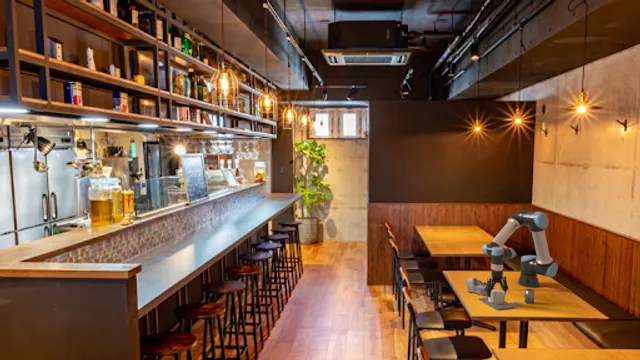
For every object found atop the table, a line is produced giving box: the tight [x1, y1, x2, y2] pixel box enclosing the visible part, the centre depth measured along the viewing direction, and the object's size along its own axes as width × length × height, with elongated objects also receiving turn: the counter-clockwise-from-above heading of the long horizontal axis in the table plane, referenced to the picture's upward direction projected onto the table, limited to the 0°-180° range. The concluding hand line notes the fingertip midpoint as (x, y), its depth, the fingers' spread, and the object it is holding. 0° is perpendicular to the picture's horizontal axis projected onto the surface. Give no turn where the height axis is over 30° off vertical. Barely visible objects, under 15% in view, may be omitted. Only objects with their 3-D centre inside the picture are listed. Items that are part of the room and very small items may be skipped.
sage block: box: [491, 289, 503, 304], centre depth 290 cm, size 6×6×8 cm
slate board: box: [478, 296, 516, 311], centre depth 291 cm, size 14×20×1 cm
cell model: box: [465, 276, 496, 297], centre depth 313 cm, size 13×11×20 cm
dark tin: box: [524, 288, 535, 305], centre depth 293 cm, size 6×6×9 cm
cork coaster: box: [510, 301, 525, 308], centre depth 289 cm, size 8×8×1 cm
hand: (496, 300), depth 291 cm, fingers open, 10 cm apart
